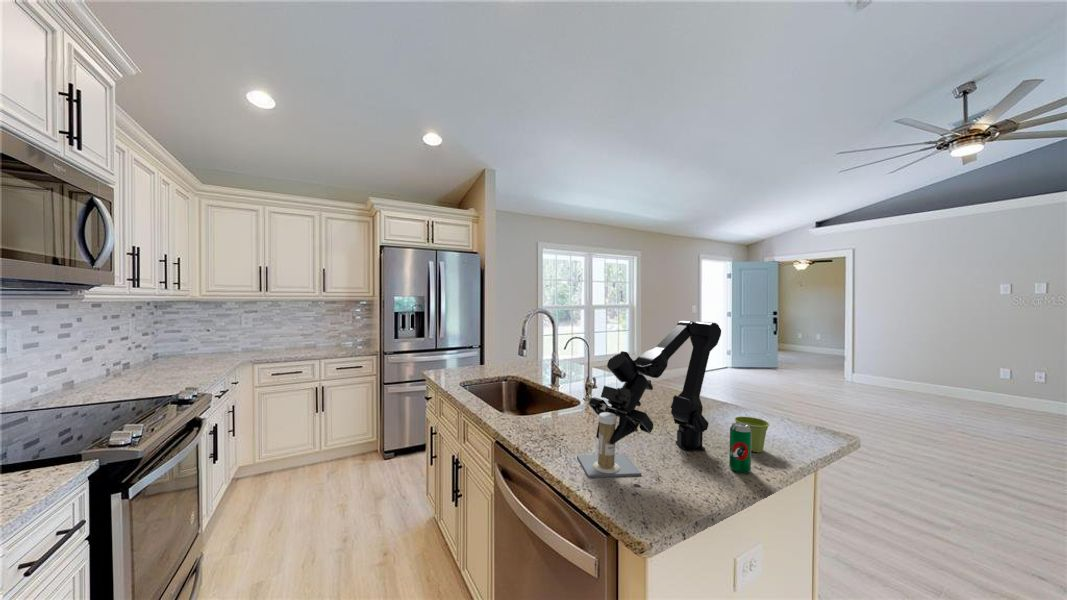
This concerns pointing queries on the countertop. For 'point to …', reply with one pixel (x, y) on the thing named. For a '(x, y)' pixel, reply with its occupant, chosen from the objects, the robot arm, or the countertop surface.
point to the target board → (620, 468)
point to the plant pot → (755, 431)
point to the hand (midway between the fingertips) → (603, 440)
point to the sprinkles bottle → (606, 439)
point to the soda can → (740, 448)
